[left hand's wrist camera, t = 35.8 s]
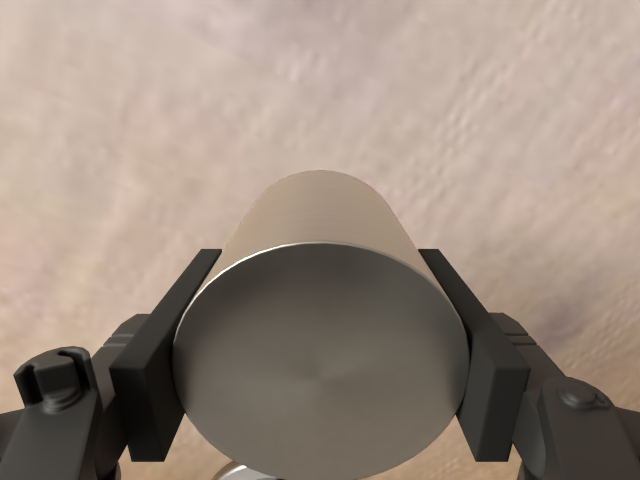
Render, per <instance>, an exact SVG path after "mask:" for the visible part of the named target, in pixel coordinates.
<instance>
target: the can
mask: <svg viewBox="0 0 640 480" xmlns="http://www.w3.org/2000/svg"><path fill="white" fill-rule="evenodd" d="M171 360H172V376H173V381H174V385H175V390H176V393H177V396H178V398H179V401H180V403H181V406H182V408H183V410H184V411H185V413H186V415H187V417H188V418H189V420H190V421H191V423H192V424H193V425H194V426H195V428H196V429H197V430H198V432H199V433H200V434H201V435H202V436H203V437H204V438H205V439H206V440H207V441H208V442H209V443H210V444H211V445H213V446H214V447H215V448H216V449H218V450H219V451H220V452H221V453H223V454H224V455H226V456H228V457H229V458H231V459H232V460H234V461H236V462H237V463H239V464H241V465H243V466H246V467H248V468H250V469H252V470H255V471H257V472H260V473H263V474H266V475H269V476H273V477H276V478H280V479H285V480H356V479H361V478H365V477H369V476H372V475H375V474H378V473H382V472H384V471H387V470H389V469H391V468H394V467H396V466H398V465H400V464H402V463H404V462H405V461H407V460H409V459H411V458H413V457H414V456H415V455H417V454H418V453H420V452H421V451H422V450H424V449H425V448H426V447H428V446H429V445H430V444H431V443H432V442H433V441H434V440H435V439H436V438H437V437H438V436H439V435H440V434H441V433H442V432H443V431H444V429H445V428H446V427H447V426H448V425H449V423H450V422H451V420H452V419H453V417H454V415H455V414H456V412H457V410H458V408H459V406H460V404H461V402H462V400H463V397H464V394H465V391H466V387H467V382H468V376H469V370H470V353H469V345H468V340H467V335H466V332H465V329H464V327H463V324H462V321H461V319H460V317H459V315H458V313H457V312H456V310H455V308H454V306H453V305H452V303H451V301H450V300H449V298H448V297H447V295H446V294H445V292H444V290H443V289H442V287H441V286H440V284H439V283H438V281H437V280H436V278H435V276H434V275H433V273H432V272H431V270H430V269H429V267H428V266H427V264H426V262H425V261H424V259H423V258H422V256H421V255H420V253H419V252H418V250H417V248H416V247H415V245H414V244H413V242H412V241H411V239H410V238H409V236H408V234H407V233H406V231H405V230H404V228H403V227H402V225H401V224H400V222H399V220H398V219H397V217H396V216H395V214H394V213H393V211H392V210H391V208H390V206H389V205H388V204H387V202H386V201H385V200H384V199H383V197H382V196H381V195H380V194H379V193H378V192H377V191H375V190H374V189H373V188H372V187H370V186H369V185H368V184H366V183H365V182H363V181H361V180H359V179H357V178H355V177H352V176H350V175H347V174H344V173H339V172H335V171H325V170H317V171H307V172H301V173H297V174H294V175H291V176H288V177H286V178H284V179H282V180H280V181H278V182H276V183H275V184H273V185H272V186H270V187H269V188H268V189H267V190H265V191H264V192H263V193H262V194H261V195H260V196H259V197H258V198H257V200H256V201H255V202H254V203H253V205H252V206H251V208H250V209H249V211H248V212H247V214H246V216H245V217H244V219H243V220H242V222H241V224H240V225H239V227H238V228H237V230H236V231H235V233H234V235H233V236H232V238H231V239H230V241H229V242H228V244H227V246H226V247H225V249H224V250H223V252H222V253H221V255H220V257H219V258H218V260H217V261H216V263H215V265H214V266H213V268H212V269H211V271H210V272H209V274H208V276H207V277H206V279H205V280H204V282H203V283H202V285H201V287H200V288H199V290H198V291H197V293H196V295H195V296H194V298H193V299H192V301H191V302H190V304H189V306H188V307H187V309H186V310H185V312H184V314H183V316H182V319H181V321H180V323H179V325H178V327H177V331H176V335H175V338H174V342H173V349H172V359H171Z"/></svg>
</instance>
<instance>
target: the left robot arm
mask: <svg viewBox="0 0 640 480" xmlns="http://www.w3.org/2000/svg"><path fill="white" fill-rule="evenodd" d="M418 252H419V253H420V255H421V256H422V258H423V259H424V261H425V262H426V264H427V266H428V267H429V269H430V270H431V272H432V273H433V275H434V276H435V278H436V280H437V281H438V283H439V284H440V286H441V287H442V289H443V290H444V292H445V294H446V295H447V297H448V298H449V300H450V301H451V303H452V305H453V306H454V308H455V310H456V312H457V313H458V315H459V317H460V319H461V321H462V324H463V327H464V329H465V332H466V335H467V340H468V345H469V353H470V370H469V376H468V382H467V387H466V391H465V394H464V397H463V400H462V402H461V404H460V406H459V408H458V410H457V412H456V417H457V419H458V421H459V424H460V426H461V428H462V431H463V433H464V435H465V438H466V440H467V442H468V445H469V447H470V449H471V452H472V454H473V456H474V459H475V461H476V462H508V459H509V455H510V451H511V447H512V443H513V444H514V446H515V448H516V450H517V451H518V453H519V455H520V457H521V459H522V462H521V466H520V469H519V473H518V477H517V480H640V412H635V411H631V410H627V409H622V408H618V407H615V406H614V404H613V403H612V402H611V400H610V399H609V398H608V397H607V396H606V395H605V394H604V393H602V392H601V391H600V390H598V389H597V388H595V387H593V386H591V385H589V384H588V383H586V382H583V381H580V380H577V379H574V378H571V377H566V376H565V375H564V374H563V372H562V371H561V370H560V369H559V368H558V367H557V366H556V365H555V363H554V362H553V361H552V360H551V359H550V358H549V357H548V355H547V354H546V353H545V352H544V351H543V350H542V349H541V348H540V346H537V343H536V342H535V341H534V340H533V339H532V337H531V336H528V333H527V332H526V331H525V329H524V328H523V327H522V326H521V325H520V324H519V323H518V322H517V321H515V320H514V319H512V318H510V317H509V316H507V315H506V314H504V313H488V312H487V311H486V309H485V308H484V307H483V305H482V304H481V303H480V302H479V300H478V299H477V298H476V296H475V295H474V294H473V293H472V291H471V290H470V289H469V288H468V286H467V285H466V284H465V282H464V281H463V280H462V279H461V277H460V276H459V275H458V274H457V272H456V271H455V270H454V268H453V267H452V266H451V265H450V263H449V262H448V261H447V259H446V258H445V257H444V256H443V254H442V253H441V252H440V251H439V249H418ZM221 253H222V249H201V250H200V251H199V253H198V254H197V255H196V257H195V258H194V259H193V260H192V262H191V263H190V264H189V266H188V267H187V268H186V269H185V271H184V272H183V273H182V274H181V276H180V277H179V278H178V280H177V281H176V282H175V283H174V285H173V286H172V287H171V288H170V290H169V291H168V292H167V294H166V295H165V296H164V297H163V299H162V300H161V301H160V303H159V304H158V305H157V306H156V308H155V309H154V310H153V311H152V313H151V314H136V315H135V316H133V317H131V318H130V319H128V320H127V321H125V322H124V323H122V324H121V325H120V326H119V327H118V328H117V330H116V331H115V332H114V333H113V334H112V337H110V338H109V339H108V340H107V341H106V342H105V343H104V344H103V347H101V348H100V349H99V350H98V351H97V352H96V354H95V355H94V356H93V357H92V358H90V354H89V352H88V351H87V350H86V349H84V348H81V347H75V346H71V347H61V348H57V349H53V350H50V351H46V352H44V353H42V354H40V355H38V356H35V357H33V358H31V359H30V360H29V361H27V362H26V363H24V364H23V365H21V366H20V367H19V369H18V370H17V371H16V372H15V373H14V374H13V376H14V378H15V381H16V384H17V387H18V389H19V392H20V395H21V397H22V400H23V403H24V406H25V408H24V409H21V410H16V411H12V412H7V413H3V414H0V480H121V471H120V466H119V462H118V460H119V458H120V456H121V455H122V453H123V451H124V449H125V447H126V446H127V445H128V448H129V452H130V456H131V460H132V462H164V460H165V458H166V456H167V453H168V451H169V449H170V446H171V444H172V442H173V439H174V437H175V435H176V432H177V430H178V428H179V425H180V423H181V421H182V418H183V416H184V414H185V411H184V410H183V408H182V406H181V403H180V401H179V398H178V396H177V393H176V390H175V385H174V381H173V376H172V360H171V359H172V349H173V342H174V338H175V335H176V331H177V327H178V325H179V323H180V321H181V319H182V316H183V314H184V312H185V310H186V309H187V307H188V306H189V304H190V302H191V301H192V299H193V298H194V296H195V295H196V293H197V291H198V290H199V288H200V287H201V285H202V283H203V282H204V280H205V279H206V277H207V276H208V274H209V272H210V271H211V269H212V268H213V266H214V265H215V263H216V261H217V260H218V258H219V257H220V255H221ZM212 480H285V479H280V478H276V477H273V476H269V475H266V474H263V473H260V472H257V471H255V470H252V469H250V468H248V467H246V466H243V465H241V464H239V463H237V462H236V461H232V462H231V463H229V464H228V465H226V466H225V467H223V468H222V469H221V470H220V471H219V472H218V473H217V474H216V475H215V476H214V478H213V479H212Z"/></svg>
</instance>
